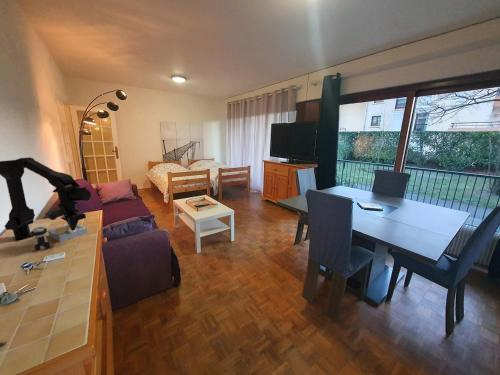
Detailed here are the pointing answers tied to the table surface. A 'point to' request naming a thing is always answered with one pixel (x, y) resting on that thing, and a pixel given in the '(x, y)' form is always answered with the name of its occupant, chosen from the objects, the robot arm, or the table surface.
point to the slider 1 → (60, 230)
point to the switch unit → (68, 233)
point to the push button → (40, 238)
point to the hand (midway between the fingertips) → (73, 230)
